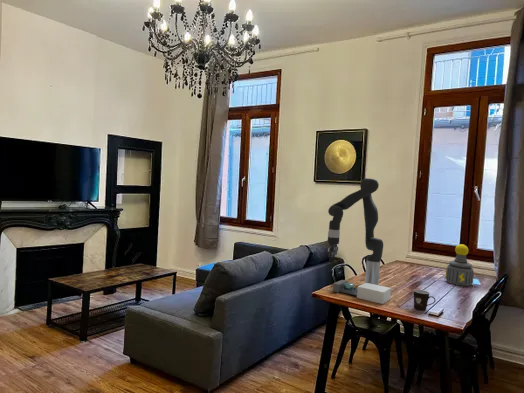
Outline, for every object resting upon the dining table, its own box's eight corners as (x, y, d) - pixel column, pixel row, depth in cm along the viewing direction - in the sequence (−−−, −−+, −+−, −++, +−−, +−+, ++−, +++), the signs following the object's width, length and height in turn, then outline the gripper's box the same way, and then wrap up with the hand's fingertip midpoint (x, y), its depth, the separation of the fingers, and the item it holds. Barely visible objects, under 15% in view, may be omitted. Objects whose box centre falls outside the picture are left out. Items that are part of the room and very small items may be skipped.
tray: (341, 287, 254) (342, 279, 253) (368, 293, 243) (369, 285, 243) (332, 291, 242) (333, 283, 242) (360, 298, 232) (361, 289, 231)
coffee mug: (408, 306, 223) (410, 289, 222) (420, 305, 226) (421, 289, 225) (423, 313, 212) (425, 295, 212) (435, 312, 215) (437, 295, 215)
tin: (345, 288, 248) (346, 282, 247) (354, 290, 244) (355, 284, 244) (342, 290, 242) (343, 283, 242) (351, 291, 239) (352, 285, 239)
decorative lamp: (447, 284, 287) (451, 244, 286) (443, 278, 305) (446, 241, 304) (475, 287, 281) (479, 247, 280) (469, 281, 299) (473, 244, 298)
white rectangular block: (364, 293, 244) (365, 282, 244) (389, 299, 235) (390, 288, 235) (356, 297, 233) (357, 286, 233) (382, 304, 224) (383, 292, 224)
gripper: (332, 234, 258) (330, 260, 258) (323, 236, 246) (321, 262, 247) (343, 236, 253) (341, 262, 254) (334, 238, 242) (332, 264, 243)
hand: (331, 262), depth 250 cm, fingers closed
